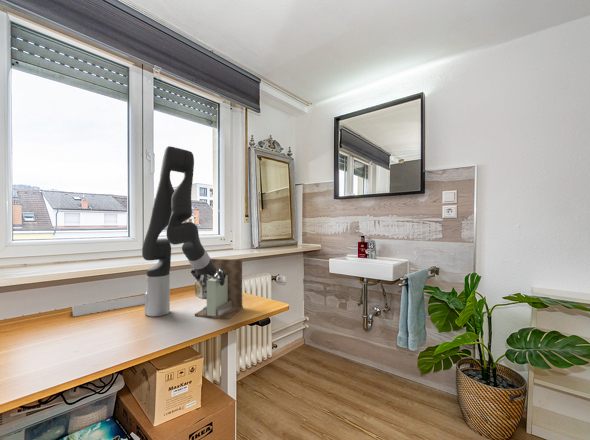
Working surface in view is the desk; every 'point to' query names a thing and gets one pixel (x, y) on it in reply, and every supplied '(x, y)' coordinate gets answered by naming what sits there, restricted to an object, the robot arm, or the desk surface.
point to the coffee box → (200, 288)
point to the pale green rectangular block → (216, 295)
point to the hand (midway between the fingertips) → (214, 283)
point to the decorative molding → (108, 305)
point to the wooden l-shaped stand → (234, 289)
